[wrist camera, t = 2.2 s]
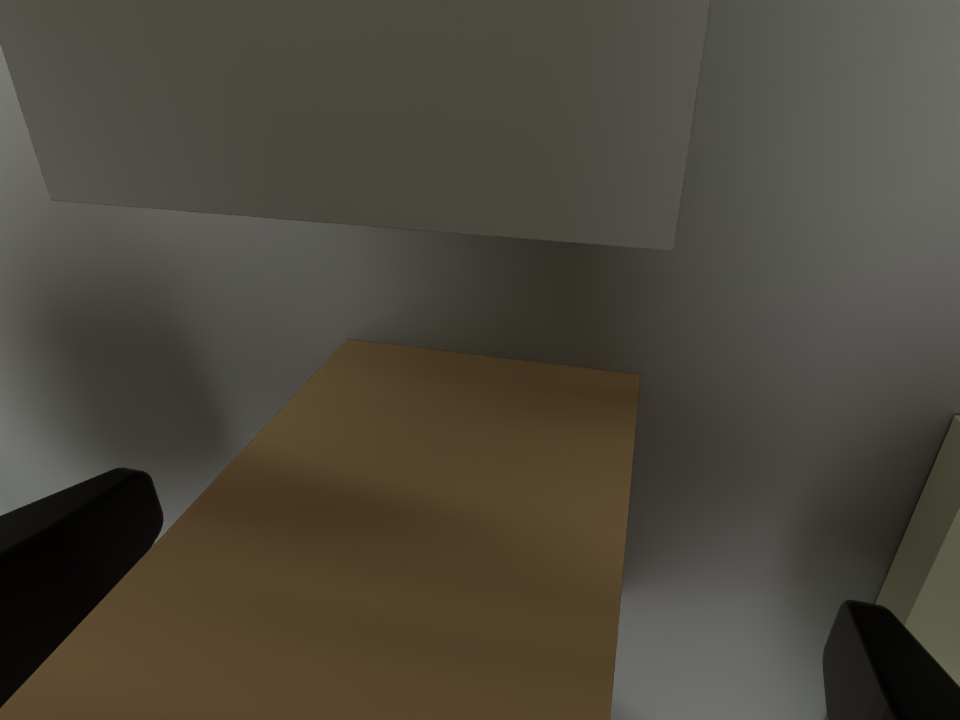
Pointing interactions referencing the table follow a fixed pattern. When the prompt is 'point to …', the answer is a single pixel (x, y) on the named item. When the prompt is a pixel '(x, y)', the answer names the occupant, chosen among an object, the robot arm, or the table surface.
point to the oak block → (381, 558)
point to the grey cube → (369, 110)
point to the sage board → (932, 562)
